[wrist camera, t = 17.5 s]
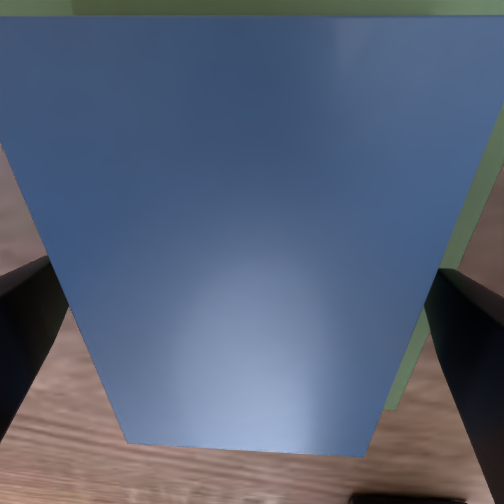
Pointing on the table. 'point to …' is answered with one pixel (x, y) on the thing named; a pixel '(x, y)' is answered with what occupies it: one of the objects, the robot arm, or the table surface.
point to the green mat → (324, 3)
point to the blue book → (248, 205)
